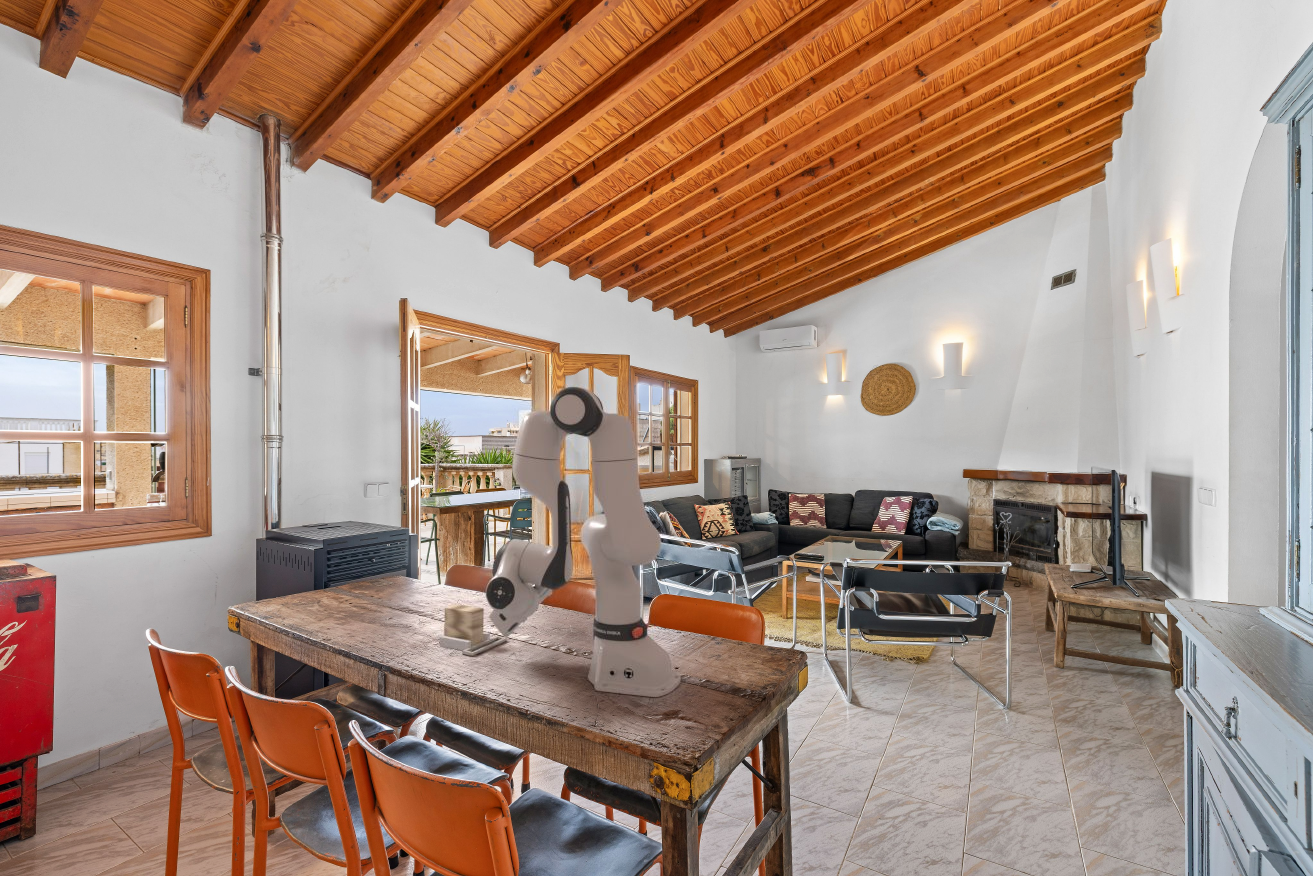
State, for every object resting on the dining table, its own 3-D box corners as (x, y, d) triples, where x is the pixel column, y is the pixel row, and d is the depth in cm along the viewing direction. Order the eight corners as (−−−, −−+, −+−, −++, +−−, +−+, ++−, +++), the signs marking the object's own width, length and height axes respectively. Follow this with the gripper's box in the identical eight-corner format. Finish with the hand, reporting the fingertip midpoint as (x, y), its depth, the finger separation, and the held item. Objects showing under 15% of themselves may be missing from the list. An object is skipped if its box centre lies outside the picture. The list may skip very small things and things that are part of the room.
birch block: (483, 644, 167) (483, 608, 167) (471, 649, 163) (472, 612, 163) (455, 639, 171) (456, 604, 171) (444, 643, 167) (444, 607, 167)
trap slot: (506, 641, 169) (506, 637, 169) (472, 656, 156) (472, 653, 156) (497, 639, 171) (497, 636, 171) (462, 654, 158) (462, 650, 158)
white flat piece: (489, 641, 168) (489, 633, 168) (467, 651, 160) (467, 642, 160) (462, 636, 173) (462, 628, 173) (439, 646, 165) (439, 636, 165)
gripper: (542, 561, 154) (556, 569, 166) (483, 621, 149) (502, 625, 162) (558, 578, 152) (571, 585, 164) (499, 639, 147) (517, 642, 160)
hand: (536, 605), depth 163 cm, fingers open, 8 cm apart
